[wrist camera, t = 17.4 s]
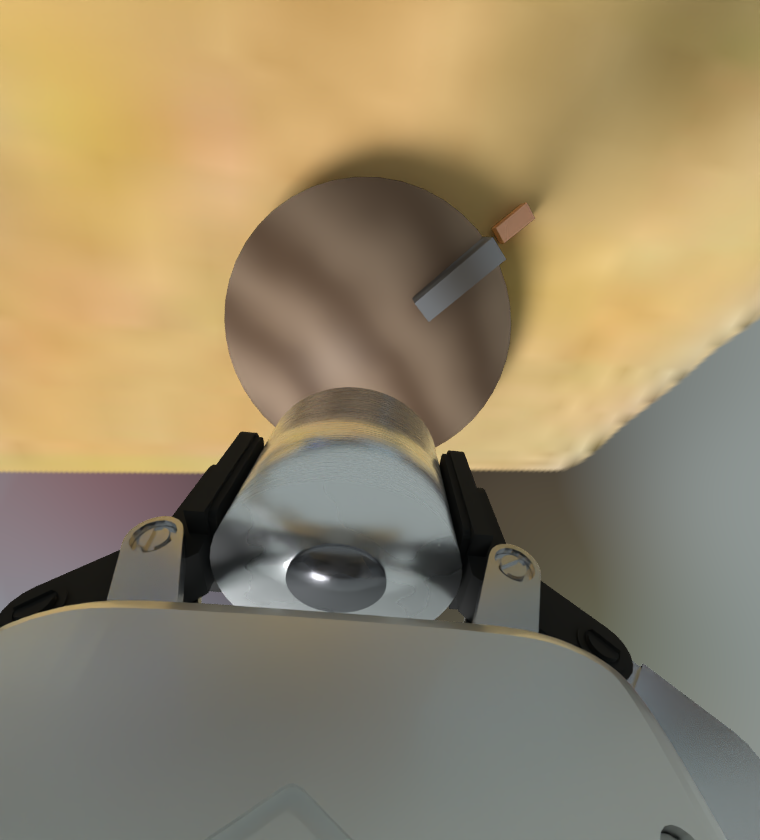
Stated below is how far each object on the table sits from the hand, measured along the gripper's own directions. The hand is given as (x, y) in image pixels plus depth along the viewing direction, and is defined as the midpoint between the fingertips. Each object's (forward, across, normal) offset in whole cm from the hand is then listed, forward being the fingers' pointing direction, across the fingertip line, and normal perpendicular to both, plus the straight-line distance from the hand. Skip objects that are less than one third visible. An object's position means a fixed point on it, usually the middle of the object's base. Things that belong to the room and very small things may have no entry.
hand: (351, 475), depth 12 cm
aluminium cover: (+1, 0, 0) cm, 1 cm away
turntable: (+19, 0, 0) cm, 19 cm away
